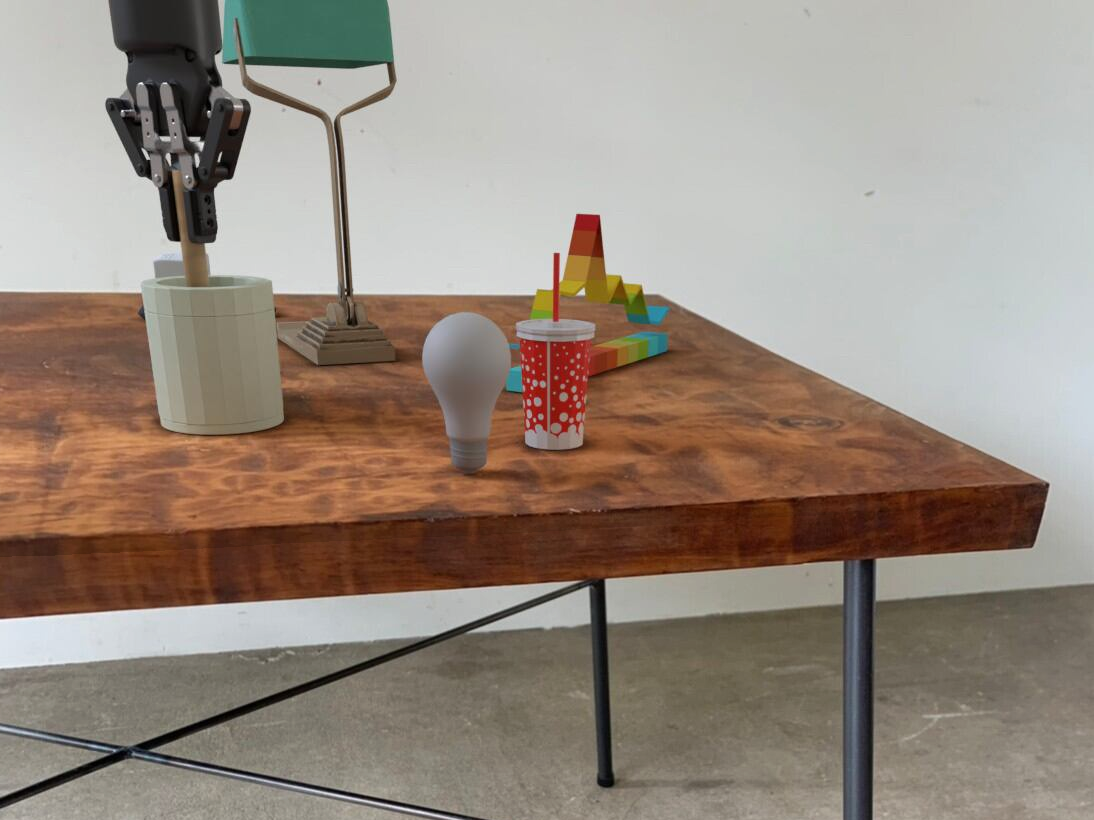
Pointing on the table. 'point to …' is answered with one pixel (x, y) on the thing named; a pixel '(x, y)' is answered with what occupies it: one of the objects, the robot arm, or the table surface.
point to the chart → (602, 288)
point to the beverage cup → (554, 376)
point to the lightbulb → (467, 381)
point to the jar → (214, 354)
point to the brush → (190, 251)
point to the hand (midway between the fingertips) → (192, 241)
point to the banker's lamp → (326, 42)
